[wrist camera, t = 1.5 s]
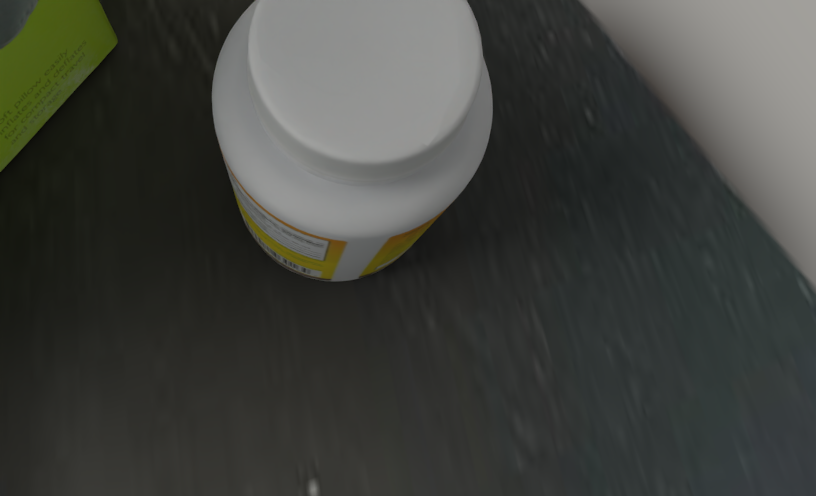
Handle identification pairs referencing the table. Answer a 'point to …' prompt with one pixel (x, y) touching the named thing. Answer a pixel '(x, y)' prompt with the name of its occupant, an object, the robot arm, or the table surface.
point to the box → (45, 61)
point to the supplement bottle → (349, 125)
